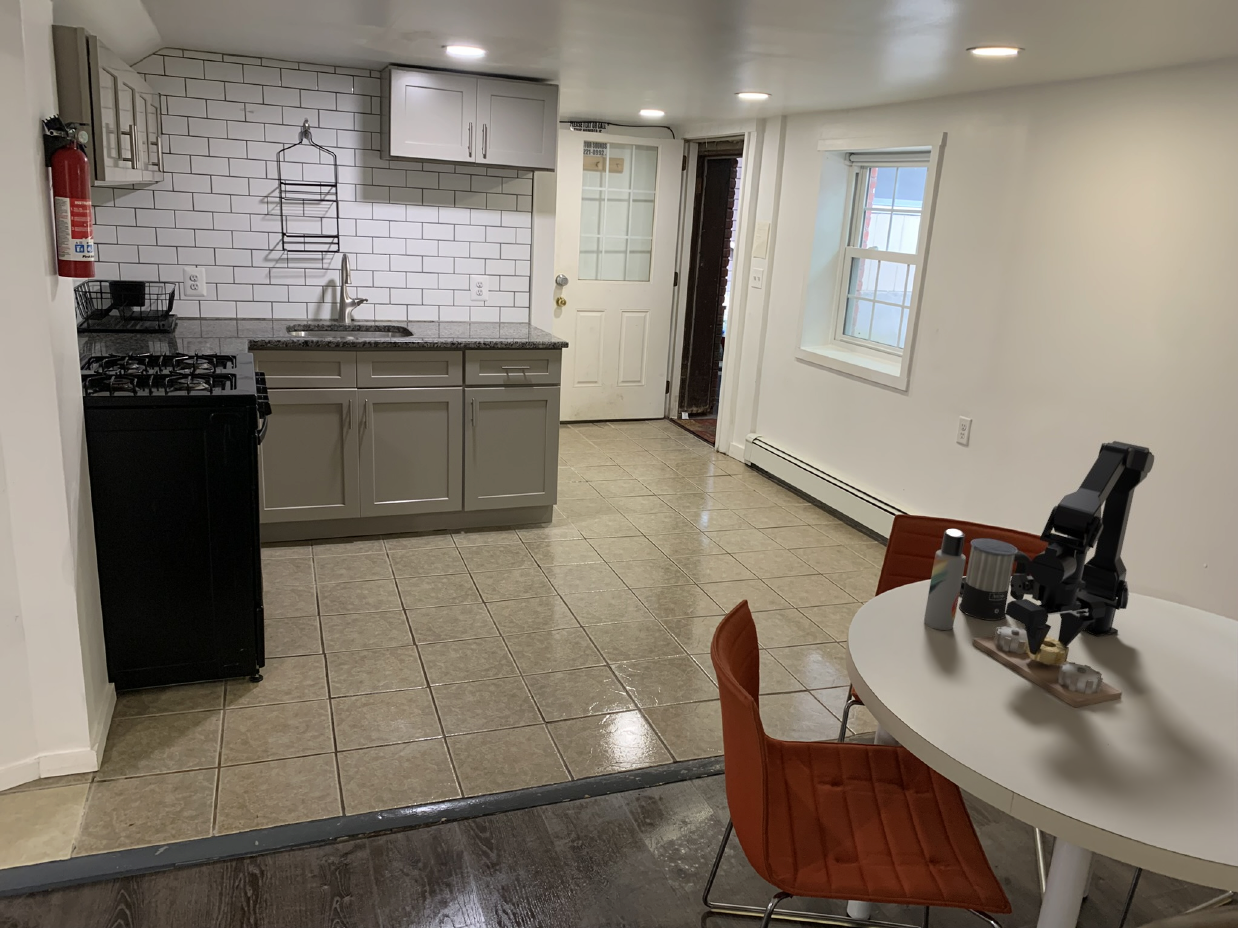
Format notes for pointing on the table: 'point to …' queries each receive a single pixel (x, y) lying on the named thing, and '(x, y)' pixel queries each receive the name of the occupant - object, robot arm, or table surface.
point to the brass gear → (1050, 652)
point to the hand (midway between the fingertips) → (1046, 651)
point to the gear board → (1048, 669)
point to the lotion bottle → (946, 581)
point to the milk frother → (991, 578)
